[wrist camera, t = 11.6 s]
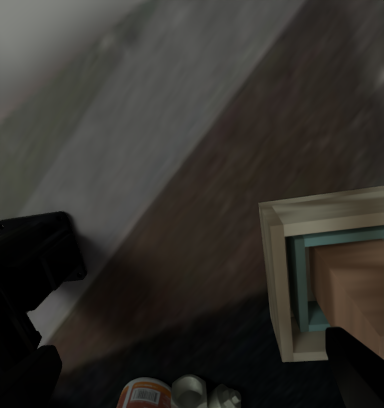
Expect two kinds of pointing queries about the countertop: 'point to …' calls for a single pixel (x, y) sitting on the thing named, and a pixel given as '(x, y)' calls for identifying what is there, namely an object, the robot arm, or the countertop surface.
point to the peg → (351, 288)
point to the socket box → (299, 259)
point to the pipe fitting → (202, 394)
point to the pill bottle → (145, 394)
